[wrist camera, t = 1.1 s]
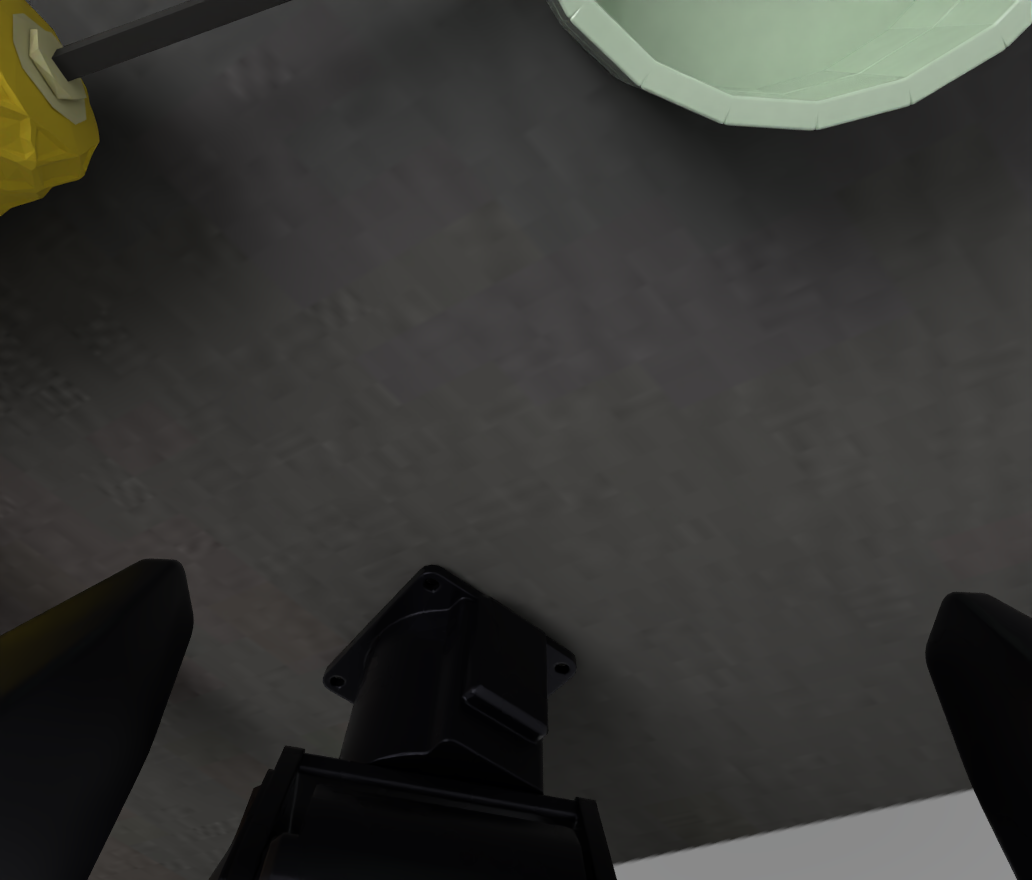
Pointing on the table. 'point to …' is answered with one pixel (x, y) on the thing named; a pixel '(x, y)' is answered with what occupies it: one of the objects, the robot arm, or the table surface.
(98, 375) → the table surface
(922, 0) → the bowl
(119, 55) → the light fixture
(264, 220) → the table surface
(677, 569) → the table surface
